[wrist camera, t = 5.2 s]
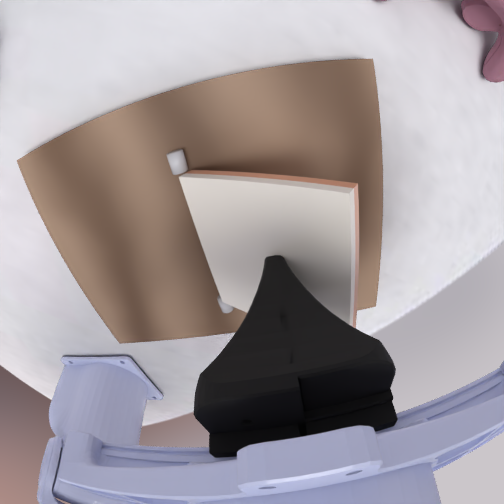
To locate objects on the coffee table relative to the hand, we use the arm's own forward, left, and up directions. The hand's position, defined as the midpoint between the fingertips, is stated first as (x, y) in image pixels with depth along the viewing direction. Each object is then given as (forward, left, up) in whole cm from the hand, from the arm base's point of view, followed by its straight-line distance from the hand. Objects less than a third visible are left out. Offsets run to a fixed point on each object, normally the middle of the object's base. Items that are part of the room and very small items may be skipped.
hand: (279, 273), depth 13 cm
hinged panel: (-1, 0, -1) cm, 1 cm away
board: (-4, 0, -5) cm, 6 cm away
